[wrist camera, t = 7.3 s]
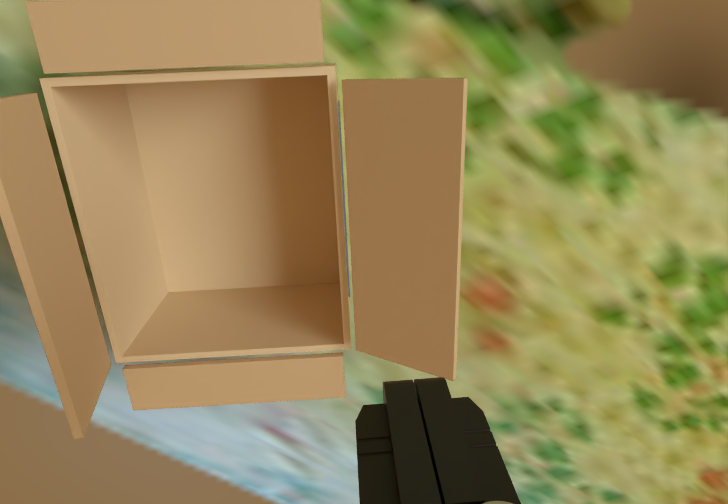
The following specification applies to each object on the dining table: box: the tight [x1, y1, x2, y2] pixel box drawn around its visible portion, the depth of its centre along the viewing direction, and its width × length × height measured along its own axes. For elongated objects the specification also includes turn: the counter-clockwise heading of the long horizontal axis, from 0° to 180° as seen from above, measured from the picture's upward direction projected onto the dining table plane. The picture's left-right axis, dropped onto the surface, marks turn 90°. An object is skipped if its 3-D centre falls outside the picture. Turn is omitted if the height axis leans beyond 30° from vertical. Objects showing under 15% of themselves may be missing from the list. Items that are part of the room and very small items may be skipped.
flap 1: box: [0, 93, 111, 439], centre depth 22 cm, size 15×6×1 cm
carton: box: [25, 0, 351, 410], centre depth 30 cm, size 22×14×9 cm, turn 2°
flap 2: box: [342, 78, 468, 381], centre depth 24 cm, size 15×6×1 cm
